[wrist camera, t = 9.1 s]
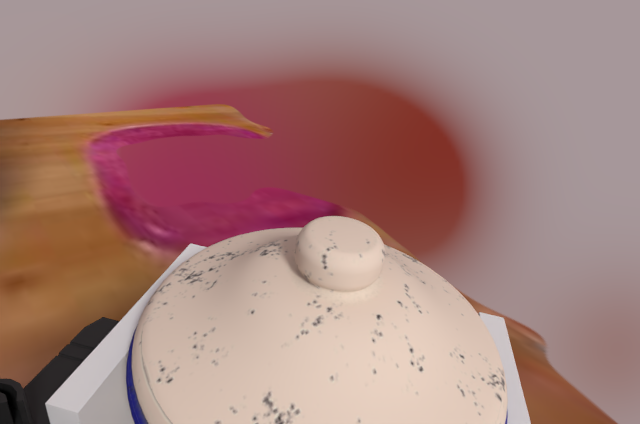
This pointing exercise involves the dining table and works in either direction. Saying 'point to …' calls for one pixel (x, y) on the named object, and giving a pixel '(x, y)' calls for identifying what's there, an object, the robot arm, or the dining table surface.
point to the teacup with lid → (312, 337)
